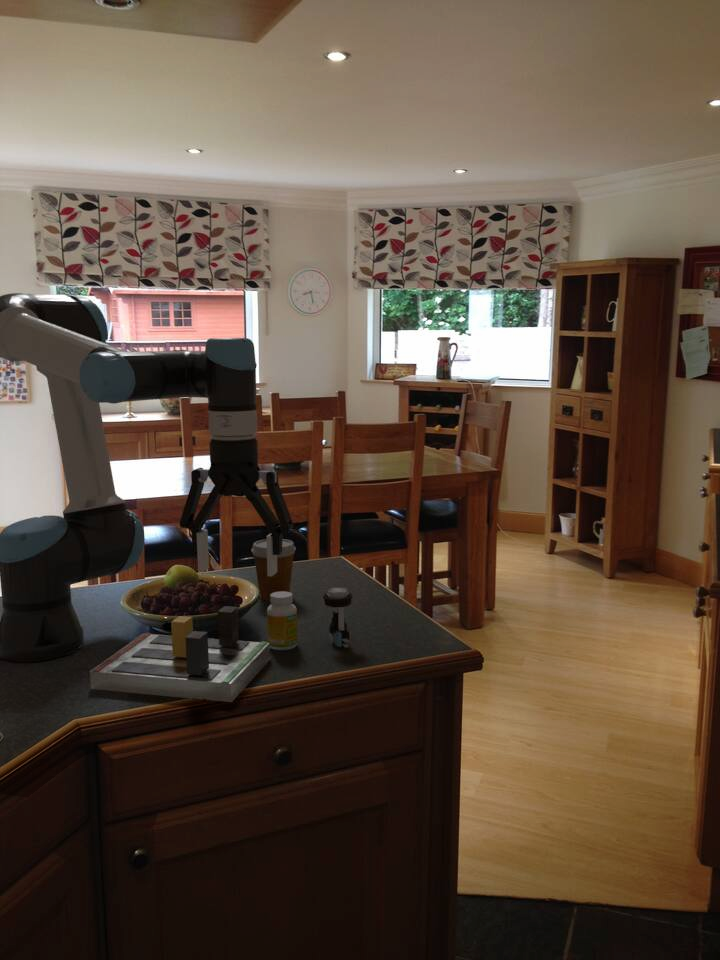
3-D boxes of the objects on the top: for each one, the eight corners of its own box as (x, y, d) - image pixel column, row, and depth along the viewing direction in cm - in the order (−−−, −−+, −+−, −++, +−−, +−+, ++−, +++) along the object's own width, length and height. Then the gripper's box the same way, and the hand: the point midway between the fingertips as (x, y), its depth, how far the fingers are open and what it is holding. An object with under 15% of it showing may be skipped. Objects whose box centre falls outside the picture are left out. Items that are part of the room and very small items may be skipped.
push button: (360, 647, 153) (360, 594, 151) (333, 652, 150) (332, 598, 149) (346, 636, 159) (345, 584, 157) (319, 640, 156) (318, 588, 155)
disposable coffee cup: (253, 591, 187) (251, 538, 185) (296, 589, 188) (294, 537, 186) (252, 604, 178) (250, 549, 176) (297, 602, 179) (296, 547, 177)
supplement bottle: (289, 652, 150) (288, 600, 149) (262, 649, 152) (261, 597, 151) (302, 642, 155) (301, 591, 154) (275, 639, 157) (274, 588, 156)
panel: (90, 689, 135) (87, 632, 134) (143, 649, 153) (141, 598, 151) (231, 702, 130) (229, 643, 128) (270, 659, 147) (268, 607, 146)
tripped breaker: (172, 656, 139) (171, 621, 138) (180, 650, 142) (179, 615, 141) (186, 657, 139) (184, 622, 138) (193, 651, 142) (192, 616, 141)
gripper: (153, 438, 132) (160, 574, 135) (298, 441, 126) (300, 582, 130) (174, 433, 139) (180, 562, 142) (311, 435, 134) (314, 569, 137)
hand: (237, 572), depth 136 cm, fingers open, 11 cm apart
